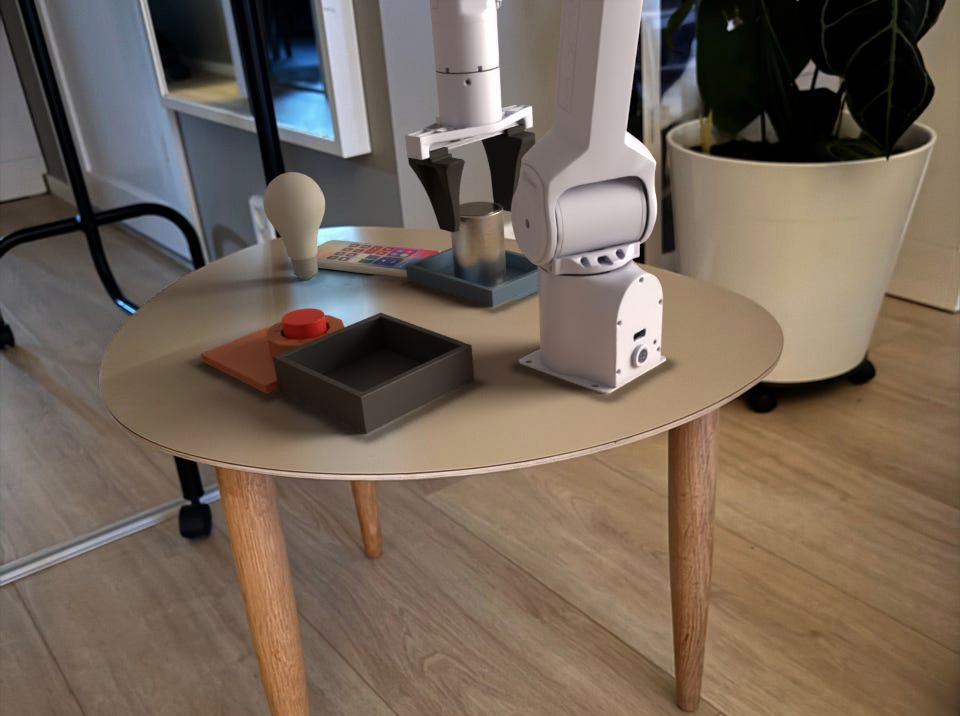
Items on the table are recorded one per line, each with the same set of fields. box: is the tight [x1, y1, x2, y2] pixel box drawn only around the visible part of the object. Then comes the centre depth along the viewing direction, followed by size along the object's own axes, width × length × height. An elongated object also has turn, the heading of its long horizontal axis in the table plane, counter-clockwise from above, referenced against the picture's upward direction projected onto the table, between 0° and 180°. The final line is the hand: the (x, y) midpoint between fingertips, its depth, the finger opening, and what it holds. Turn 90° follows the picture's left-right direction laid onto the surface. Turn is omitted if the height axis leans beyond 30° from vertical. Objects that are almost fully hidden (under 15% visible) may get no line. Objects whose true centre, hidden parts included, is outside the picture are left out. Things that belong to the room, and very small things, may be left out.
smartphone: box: [316, 239, 441, 278], centre depth 102 cm, size 7×1×15 cm
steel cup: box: [450, 200, 506, 287], centre depth 93 cm, size 5×5×7 cm
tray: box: [406, 247, 538, 308], centre depth 94 cm, size 12×9×2 cm
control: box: [200, 314, 345, 395], centre depth 81 cm, size 10×10×3 cm
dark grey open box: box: [273, 312, 475, 435], centre depth 75 cm, size 11×11×4 cm
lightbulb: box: [262, 171, 326, 281], centre depth 96 cm, size 6×6×11 cm
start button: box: [281, 307, 327, 340], centre depth 80 cm, size 4×4×2 cm
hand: (477, 219), depth 91 cm, fingers open, 7 cm apart
